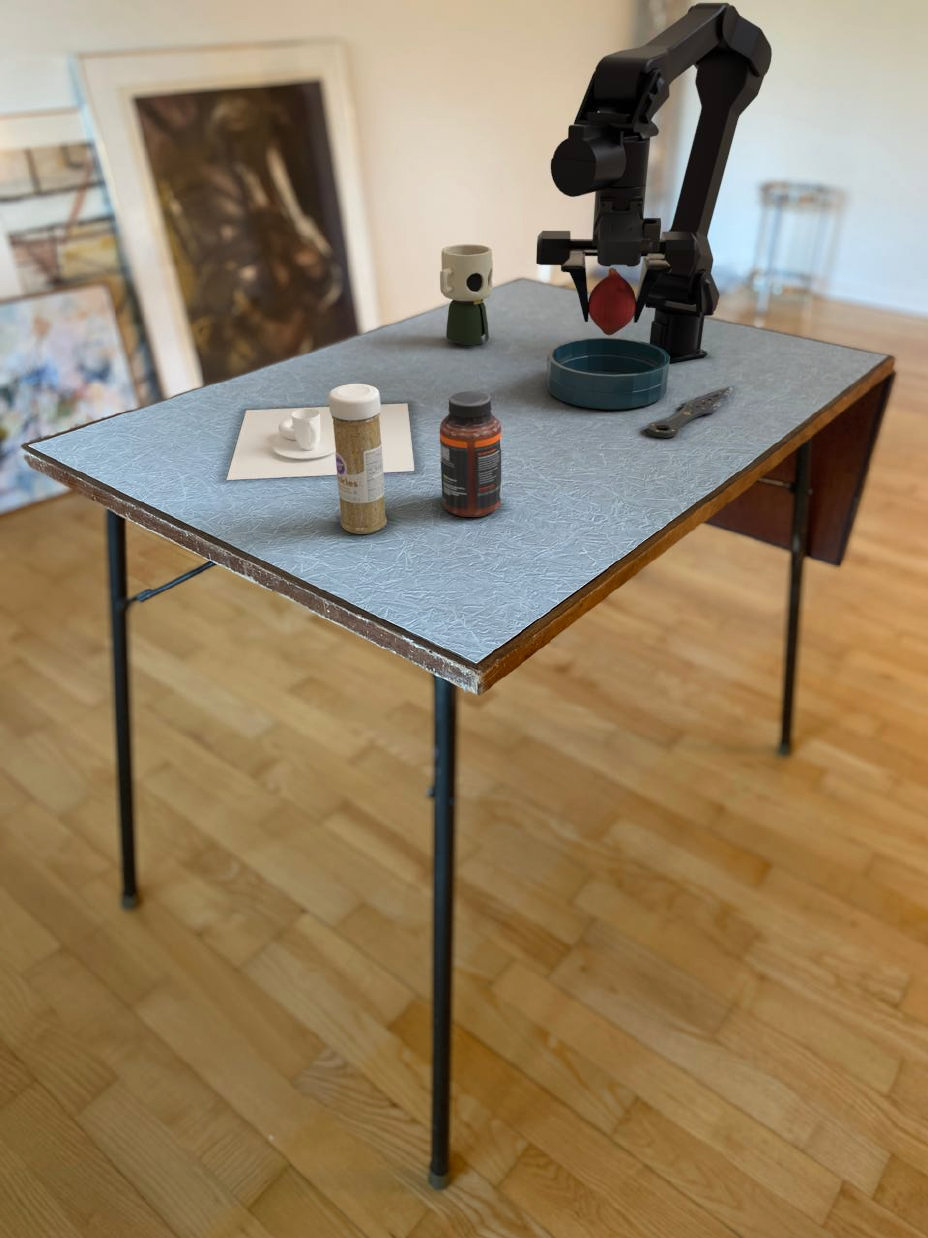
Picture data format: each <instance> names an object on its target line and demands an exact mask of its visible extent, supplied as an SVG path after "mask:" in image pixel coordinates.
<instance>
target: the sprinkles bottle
mask: <svg viewBox="0 0 928 1238" xmlns="http://www.w3.org/2000/svg"><path fill="white" fill-rule="evenodd" d="M380 405H381V395H380V391H379V390H378V388H376V387H375V386H372V385H371V384H365V383H348V384H343V385H338V386H336V387H333V388H332V389H331V390H330V391H329V393H328V407H329V408H330V413H331V415H332V418H333V425H334V437H335V448H336V453H335V455H336V469H337V475H336V479H337V490H338V491H337V493H338V497H339V506H340V507H339V508H340V519H339V520H340V521H339V522H340V525H341V527H342V529H343V530H345V531H347V532H348V533H351V534H356V535H363V534H364V535H365V534H373V533H375V532H378V531H379V530H382V529H383V528H384V527H385V526H386V525H387V524H388V518H387V516H386V506H385V505H386V503H385V492H386V491H385V490H386V489H385V475H384V473H385V472H384V473H383V457H382V442H381V436H380V421H379V416H380V413H379V412H380V410H381V406H380Z"/></svg>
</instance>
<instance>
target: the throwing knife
mask: <svg viewBox="0 0 928 1238" xmlns="http://www.w3.org/2000/svg"><path fill="white" fill-rule="evenodd" d="M734 387H735V385H731V386H726V387H723V388H720V389H716V390H714V391H711V392H709V393H706V394H703V395H699V396H697V397H695V398H692V399H690V400H688V401H685V402H683V403H680V406H681V409H679V411H677V412H675V413H673V414H672V415H670V416H669V417H665V418H663V419H660V420H657V421H653V422H649V423H648V424H647V428H646V433H647V434H649V435H651V436H654V437H658V438H666V439H667V438H672V437H675V436H677V434H678V433H679V431H680V430H681V428H682V427H683V426H685V424H687V423H690V422H691V420H694V419H696V418H698V417H701V416H706V415H709V414H714V412H716V411H717V410H718V409H719V408H720V407H721V406H722V404H723V403H724V402H725V401H726V400H727V399H728V397H729V396H730V395H731V393H732V391H733V390H734ZM661 429H666V430H661Z"/></svg>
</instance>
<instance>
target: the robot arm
mask: <svg viewBox="0 0 928 1238" xmlns="http://www.w3.org/2000/svg"><path fill="white" fill-rule="evenodd" d="M767 38H768V37H766V35H765V33H764V32H763V29H762V28H760V27H759V26H757V25H756V24H755V23H753V22H752V21H750V20H748V19H747V18H745V17H743V16H742V15H740V13H739V12H738V10H737V8H736V6H734V4H733V5H732V4H730V3H729V2H698V3H696V4H695V5H694V4H693V5H691V6H690V8H689V9H688V11H687V13H686V14H684V15H683V16H682V17H680V18H679V19H678V20H676V21H675V22H674V23H673V24H671V25H670V26H668V27H667V28H666V29H664V30H663V31H661V32H660V33H659V34H658V35H656V36H654V38H652V39H651V40H650V41H648V42H647V43H645V44H644V45H642V46H639V47H635V48H627V49H624V50H618V51H616V52H613V53H609V54H607V55H605V56H603V57H602V58H601V59H600V60H599V61H598V62H597V64H596V66H595V70H594V71H593V73H592V75H591V78H590V80H589V83H588V86H587V88H586V90H585V93H584V96H583V99H582V101H581V103H580V106H579V107H578V108H579V109H578V111H577V113H576V116H575V118H574V121H573V124H569V126H568V129H567V138H565V139H564V140H562V141H561V142H560V143H559V144H558V145H557V147H556V148H555V150H554V152H553V156H552V158H551V159H550V175H551V178H552V181H553V183H554V186H555V187H556V188H557V190H558V191H559V192H560V193H562V194H563V195H565V196H567V197H571V198H576V197H581V196H585V195H588V194H593V193H594V206H593V207H594V209H593V224H592V239H591V238H578V239H577V238H571V230H542V231H541V232H540V233H539V234H538V235H537V237H536V238H537V240H536V258H535V259H536V261H535V263H536V265H539V266H560V272H562V273H569V275H570V277H571V279H572V281H573V284H574V286H575V290H576V292H577V296H578V300H579V304H580V308H581V312H582V316H583V321H584V322H585V323H588V322H589V316H590V315H589V306H588V301H589V296H588V295H589V293H588V280H587V279H588V278H587V266H586V257H596V260H597V261H596V262H597V264H598V265H600V266H602V267H611V266H627V267H629V268H633V267H637V266H639V265H640V264H641V270H640V274H639V279H638V285H637V291H636V294H635V298H636V310H635V315H634V316H633V323H634V324H637V323H638V322H639V319H640V317H641V315H642V312H643V310H644V308H647V309H654V317H653V320H652V321H651V324H650V335H649V342H648V343H649V344H653V345H655V346H657V347H659V348H661V349H663V350H665V352H666V353H667V354H668V355H669V356H670V361H669V363H675V362H680V361H687V360H691V359H697V358H703V357H708V351H705V350H703V349H701V347H702V340H703V333H704V325H705V317H711V316H713V315H714V314H715V311H716V310H717V306H718V305H719V299H720V292H719V290H718V288H717V284H716V283H715V279H714V278H713V275H712V270H713V266H714V265H713V264H714V257H713V252H712V249H711V245H710V242H709V241H710V240H709V238H708V236H709V231H710V227H711V225H712V220H713V216H714V212H715V209H716V204H717V202H718V197H719V194H720V190H721V187H722V182H723V178H724V175H725V171H726V167H727V163H728V160H729V156H730V152H731V149H732V145H733V141H734V137H735V134H736V133H735V132H736V129H737V126H738V122H739V118H740V116H741V115H742V114H743V112H745V111H746V110H747V108H748V107H749V106H750V105H751V104H752V103H753V101H754V100H755V99H756V98H757V97H758V95H759V93H760V90H761V88H762V84H763V81H764V79H765V76H766V75H767V73H768V72H769V70H770V66H771V63H772V55H773V51H772V46H771V43H770V41H769V40H768V39H767ZM692 66H694V67H695V69H696V73H695V80H694V81H695V82H694V84H695V87H696V92H697V95H698V98H699V103H700V106H701V107H700V112H699V116H698V121H697V125H696V128H695V132H694V136H693V141H692V144H691V148H690V152H689V156H688V159H687V164H686V168H685V172H684V175H683V178H682V179H683V180H682V182H681V183H682V184H681V187H680V192H679V196H678V199H677V203H676V206H675V211H674V215H673V219H672V224H671V227H670V228H669V230H668V231H662V218H661V217H645V218H644V213H645V204H646V203H645V202H646V191H647V180H648V169H649V168H648V167H649V158H650V147H651V138H652V137H657V136H658V135H659V133H660V129H659V128H658V125H656V123H654V121H653V120H652V119H653V118H654V116H655V114H656V113H657V112H658V111H659V110H660V109H661V108H662V107H663V105H664V104H665V103H666V102H667V101H668V99H669V98H670V85H671V84H672V83H673V82H674V81H675V80H676V79H677V78H679V77H680V76H681V75H683V74H684V73H685V72H686V71H687V70H689V69H690V68H691V67H692ZM642 257H643V258H642ZM641 259H642V263H641Z"/></svg>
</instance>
